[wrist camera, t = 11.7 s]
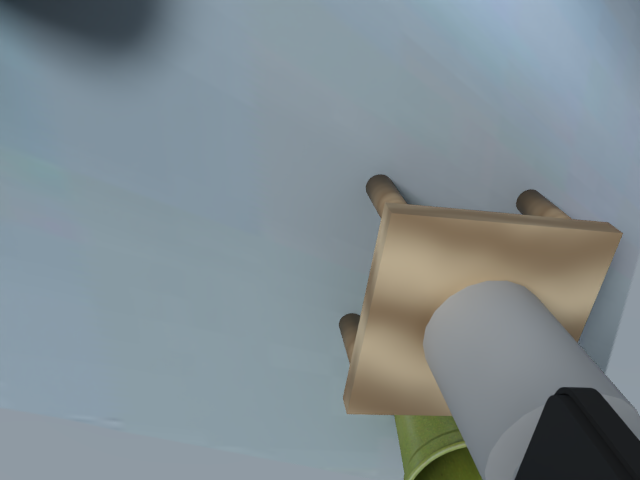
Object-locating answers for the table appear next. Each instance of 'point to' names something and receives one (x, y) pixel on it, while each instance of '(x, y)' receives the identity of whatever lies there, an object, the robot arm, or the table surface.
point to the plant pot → (434, 449)
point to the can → (507, 370)
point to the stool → (459, 285)
